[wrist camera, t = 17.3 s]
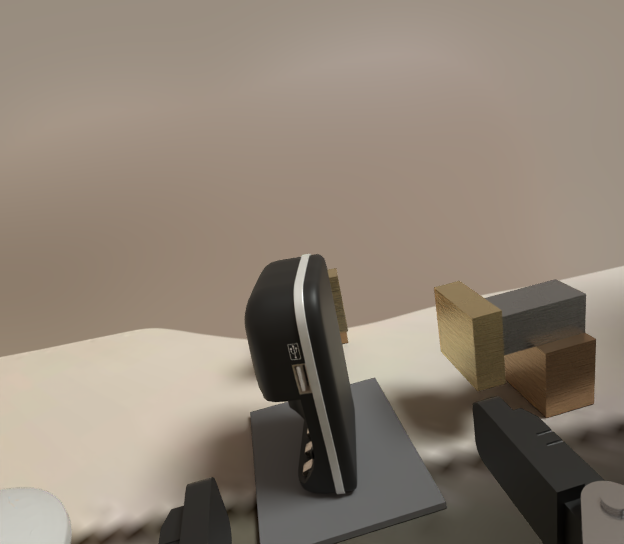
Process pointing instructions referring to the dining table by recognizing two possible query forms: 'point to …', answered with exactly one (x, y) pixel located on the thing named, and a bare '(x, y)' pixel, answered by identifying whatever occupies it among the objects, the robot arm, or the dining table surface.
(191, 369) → the dining table surface
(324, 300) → the battery charger
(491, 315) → the set of rectangular blocks
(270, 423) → the plate
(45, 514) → the candlestick
